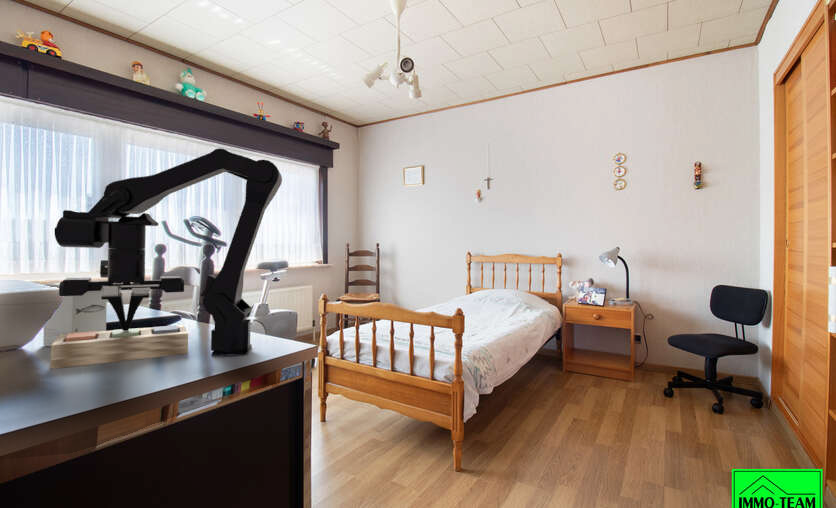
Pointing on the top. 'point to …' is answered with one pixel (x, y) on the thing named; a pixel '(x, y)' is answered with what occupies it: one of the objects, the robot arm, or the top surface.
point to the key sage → (125, 333)
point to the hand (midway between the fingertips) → (125, 330)
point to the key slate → (165, 329)
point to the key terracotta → (81, 336)
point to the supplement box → (76, 316)
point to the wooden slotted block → (117, 347)
